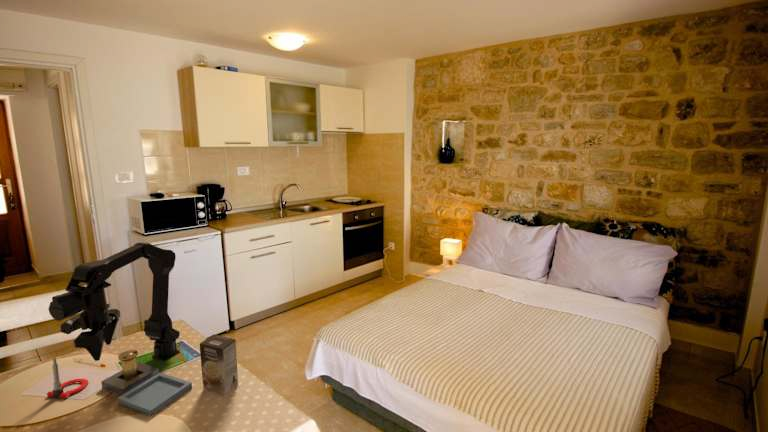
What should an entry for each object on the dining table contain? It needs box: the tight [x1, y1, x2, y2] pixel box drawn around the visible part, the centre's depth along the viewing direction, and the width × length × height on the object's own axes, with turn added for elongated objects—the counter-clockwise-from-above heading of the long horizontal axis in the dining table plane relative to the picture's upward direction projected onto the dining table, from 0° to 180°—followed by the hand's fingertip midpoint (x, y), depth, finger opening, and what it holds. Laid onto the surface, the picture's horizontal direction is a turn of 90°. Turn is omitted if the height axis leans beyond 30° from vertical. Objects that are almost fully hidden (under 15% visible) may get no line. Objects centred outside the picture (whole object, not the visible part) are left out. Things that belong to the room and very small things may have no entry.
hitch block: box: [101, 361, 160, 396], centre depth 125 cm, size 12×10×2 cm
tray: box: [116, 372, 193, 417], centre depth 118 cm, size 14×14×2 cm
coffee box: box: [199, 333, 239, 396], centre depth 121 cm, size 9×6×16 cm
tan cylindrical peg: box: [117, 349, 139, 381], centre depth 124 cm, size 5×5×10 cm
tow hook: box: [46, 356, 89, 400], centre depth 120 cm, size 8×13×9 cm
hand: (103, 352), depth 118 cm, fingers open, 9 cm apart
